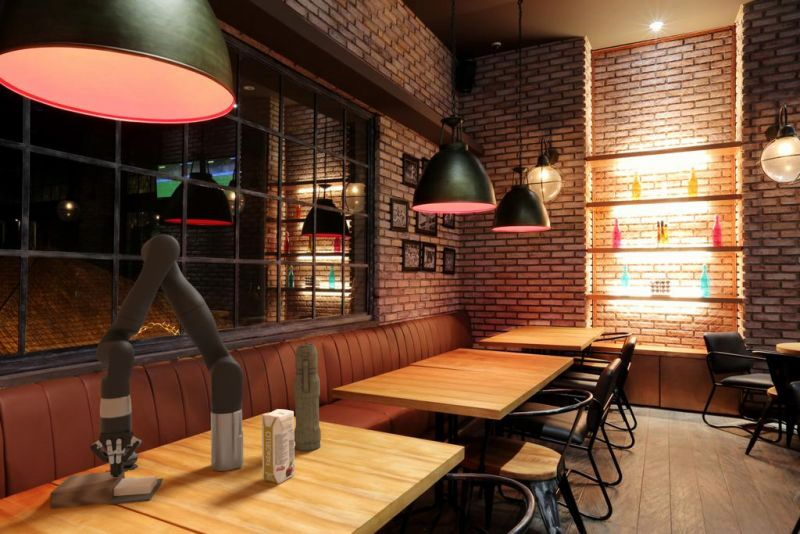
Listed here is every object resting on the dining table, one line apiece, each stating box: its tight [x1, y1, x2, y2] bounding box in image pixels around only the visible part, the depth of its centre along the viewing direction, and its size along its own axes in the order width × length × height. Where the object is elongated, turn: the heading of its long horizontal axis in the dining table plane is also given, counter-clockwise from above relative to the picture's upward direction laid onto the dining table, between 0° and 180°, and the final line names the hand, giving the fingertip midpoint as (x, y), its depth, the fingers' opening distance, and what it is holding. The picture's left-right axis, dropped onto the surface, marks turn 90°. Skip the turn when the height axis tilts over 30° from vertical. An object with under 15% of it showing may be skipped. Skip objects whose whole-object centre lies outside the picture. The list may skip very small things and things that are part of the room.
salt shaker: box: [123, 441, 140, 472], centre depth 160 cm, size 6×6×12 cm
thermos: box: [293, 343, 322, 453], centre depth 176 cm, size 9×12×35 cm
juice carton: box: [261, 408, 296, 484], centre depth 150 cm, size 8×9×19 cm
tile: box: [114, 475, 158, 496], centre depth 142 cm, size 9×7×2 cm
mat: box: [108, 477, 164, 505], centre depth 142 cm, size 10×14×1 cm
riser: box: [49, 471, 126, 510], centre depth 139 cm, size 14×12×4 cm
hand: (116, 476), depth 141 cm, fingers closed
